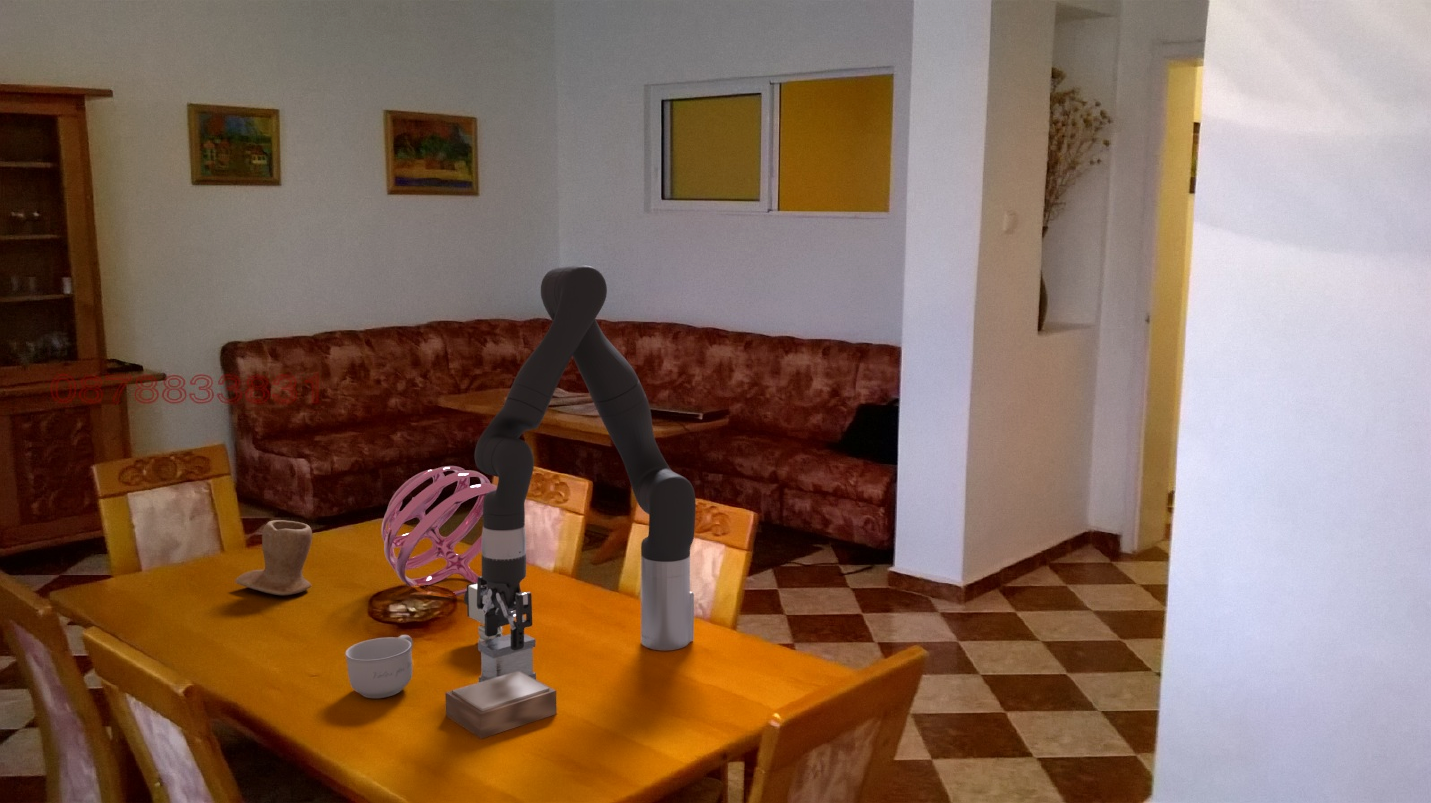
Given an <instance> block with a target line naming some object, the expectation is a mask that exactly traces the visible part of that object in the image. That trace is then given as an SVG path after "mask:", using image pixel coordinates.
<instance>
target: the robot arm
mask: <svg viewBox="0 0 1431 803" xmlns="http://www.w3.org/2000/svg"><path fill="white" fill-rule="evenodd" d="M607 294H608V287H607V283H606V279H605V277H604V276H603V274H602V273H601V272H600V270H598V269H597V268H596V267H593V266H590V265H585V264H584V265H570V266H560V267H555V268H552V269H551V270H549V271H548V272H547V273H546V274H545V275H544V276H543V278H542V280H541V283H540V296H541V301H542V304H543V306H544V308H545V310H546V312H547V314H548V316H549V318H550V319H551V321H552V322H551V325H550V326H549V328H548V331H547V332H546V333H545V335H544V337H543V338H542V340H541V341H540V343H539V344H538V345H537V346H536V348H535V349H534V350H533V351H532V353H531V354H530V355H529V357H527V359H526V361H525V362H524V363H523V365H522V366H521V367H520V369H519V371H518V373H517V374H516V376H515V378H514V380H513V383H512V384H511V388H510V390H508V391H509V392H508V393H507V397H506V399H505V401H504V403H503V406H502V408H500V410H499V411H498V412H497V414H496V415H494V417H493V419H492V420H491V421H490V423H489V424H488V425H487V426H486V428H485V430H484V431H483V432H482V434H481V435H480V437H479V438H478V440H477V443H476V446H475V449H474V461H475V465H476V467H477V469H478V470H479V471H480V472H482V473H483V474H486V475H490V476H494V477H497V479H498V480H497V484H496V486H497V489H496V490H493V491H490V492H488V493H487V494H486V495H485V497H484V500H483V514H482V533H481V535H482V550H481V576H479V575H478V576H479V577H478V579H477V608H478V609H482V613H483V615H485V635H486V636H488V637H490V636H494V635H497V633H498V614H496V612H497V611H498V609H500V610H501V611H503V614H504V617H505V618H507V619H508V620H509V623H510V624H509V626H510V634H511V649H512V650H514V651H515V650H519V649H522V648H523V647H524V634H525V629H526V628H529V627H532V626H533V601H532V597H533V596H532V593H531V591H526V592H522V589H521V582H522V580H524V579H525V578H526V576H527V533H526V529H525V528H526V526H525V525H526V522H525V520H526V518H525V516H526V510H525V509H526V507H525V502H526V498H527V496H528V492H529V488H530V484H531V481H532V476H533V473H534V463H535V460H534V459H535V458H534V454H533V450H532V448H531V447H530V445H529V443H527V442H526V441H525V440H523V439H520V437H521V436H522V435H523V434H524V433H525V432H527V431H531V430H532V431H533V430H536V429H537V428H539V427H540V425H541V423H542V421H543V419H544V417H545V415H546V412H547V411H548V408H549V406H550V403H551V400H552V398H553V396H554V393H555V391H556V388H557V387H558V384H559V383H560V380H561V378H562V376H563V374H564V372H565V370H566V368H567V366H568V365H569V363H570V360H571V359H572V358H573V360H574V362H575V365H576V367H577V369H578V371H579V373H580V375H581V378H582V380H583V382H584V383H585V385H586V389H587V390H588V392H589V395H590V397H591V400H592V402H593V406H595V409H596V411H597V413H598V415H599V417H600V419H601V421H602V423H603V425H604V427H605V428H606V431H607V432H608V435H609V436H610V437H609V438H610V440H612V442H613V444H614V446H615V448H616V449H617V452H618V454H619V455H620V458H621V460H622V463H623V465H624V468H625V471H626V473H627V476H628V479H629V482H630V486H631V489H632V492H633V494H634V497H635V500H636V502H637V504H638V506H639V507H640V508H641V509H642V510H643V512H645V513H646V514H647V515H648V516H649V517H648V535H647V536H646V537H644V538H643V539H642V541H641V543H640V571H641V573H640V590H641V591H640V610H641V611H640V643H641V645H642V646H644V648H648V649H651V650H654V651H655V650H657V651H675V650H679V649H682V648H683V649H684V647H687V646H688V645H689V644H690V642H693V641H694V634H695V633H694V632H695V630H694V628H695V626H694V624H695V622H694V621H695V620H694V619H695V616H694V614H695V611H694V610H695V609H694V608H695V603H694V602H695V594H694V592H693V591H691V547H692V545H693V542H694V538H695V531H696V530H695V528H696V527H695V526H696V525H695V524H696V502H697V501H696V493H695V489H694V487H693V485H692V483H691V482H690V480H688V479H687V478H686V477H684V476H682V475H681V474H679V473H676V472H674V471H673V470H672V469H671V468H670V466H669V465H668V462H666V459H665V458H664V455H663V454H662V452H661V450H660V448H659V446H658V443H657V442H656V439H655V435H654V429H653V428H654V426H653V421H652V420H653V418H652V412H651V406H650V404H649V400H648V398H647V395H646V392H645V391H644V390H645V389H644V388H643V385H642V383H641V382H640V379H639V377H638V375H637V373H636V371H635V369H634V368H633V367H632V365H631V364H630V362H628V360H627V359H626V358H625V356H623V355H622V354H621V352H620V351H619V350H618V349H617V348H616V347H615V346H614V345H613V344H612V343H611V342H610V339H608V338H607V336H606V335H605V334H604V332H603V331H602V329H601V328H600V325H599V323H598V321H597V319H596V318H597V317H598V315H599V314H600V311H601V310H602V309H603V307H604V304H605V302H606V300H607V299H606V298H607ZM485 595H487V596H486V598H485V600H484V601H483V596H485ZM515 607H516V610H513V609H514V608H515ZM510 610H513V611H510ZM524 615H525V616H524ZM514 616H516V617H514Z"/></svg>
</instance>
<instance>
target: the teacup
mask: <svg viewBox="0 0 1431 803" xmlns="http://www.w3.org/2000/svg"><path fill="white" fill-rule="evenodd" d="M413 645H414V643H413V639H412V637H411V636H410V635H408V634H401V635H400V636H398V637H393V636H391V637H389V636H388V637H378V638H373V639H367V640H363V641H360V642H358V643H355V644H353V645H352V646H349V647H348V648H347V649H346V650H345V653H344V655H345V658H346V664H347V665H346V666H347V675H348V679H349V680H348V681H349V683H350V684H349V685H350V686H351V688H352V689H353V690H354V691H355V693H356V692H357V693H358V694H360V695H362V696H363V697H365V698H368V699H382V698H383V699H384V698H388V697H391V696H395V695H396V694H399V693H400V692H401V691H402V690H403V689H404V688H405V687H406V686H407V685H408V684H409V683H410V681H411V680H412V676H413V657H412V651H413V648H414V647H413Z"/></svg>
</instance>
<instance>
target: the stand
mask: <svg viewBox="0 0 1431 803" xmlns="http://www.w3.org/2000/svg"><path fill="white" fill-rule="evenodd" d="M444 693H445V696H444V698H445V717H447V718H449V719H450V720H452V721H453V722H455V723H456V724H458V725H459V726H461V727H462V728H463V729H465V730H467V731H469V732H470V733H471V734H473V735H474V736H476V737H478V738H479V739H484V738H488V737H491V736H493V735H497V734H499V733H502V732H505V731H509V730H512V729H514V728H515V729H516V728H518V727H521V726H524V725H528V724H530V723H534V722H537V721H539V720H542V719H546V718H548V717H552V716H554V715H558V714H557V690H555V689H554V688H552V687H550V686H548V685H546V684H545V683H543V682H541V681H539V680H538V679H537V678H536V679H534V678H532V677H530V676H528V675H526V674H524V673H523V672H521V671H517V672H513V673H510V674H506V675H503V676H500V677H496V678H493V679H489V680H486V681H482V682H479V681H478V682H476V683H473V684H472V683H471V684H469V685H465V686H462V687H458V688H455V689H453V690H449V691H446V692H444Z"/></svg>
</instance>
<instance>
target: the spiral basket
mask: <svg viewBox="0 0 1431 803" xmlns="http://www.w3.org/2000/svg"><path fill="white" fill-rule="evenodd" d="M447 471H453V473H449V474H447V475H446V476H445V474H444V472H447ZM474 477H475V478H478V479H479V480H480V483H478V484H473V485H470V478H474ZM431 478H432V480H433V482H432V483H430V484H429V485H428V486H426V488H424V489H423V490H421V492H419V493H418V494H417V495H415V496H414V497H413V496H412V498H411V500H410V501H409V502H408V503H407V504H406V505H405V507H403V509H402V510H401V511H400V509H401V507H402V505H403V500H404V499H405V498H406V497H407V496H408V495H409V494H410V493H411V492H412V491H413V490H415V489H417V487H419V486H420V485H422V484H423V483H424V482H425V481H427V480H429V479H431ZM455 482H457V484H456V485H457V486H456V488H455V490H454V492H453V494H451V495H450V496H449V497H447V498H446V499H444V500H442V501H441V502H440V503H439V504H437V505H436V506H435V507H434V508H433V509H431V510H430V511H429V512H428V513H427V514H426V510H427V509H428V508H429V507H431V505H433V503H434V502H435V501H436V500H437V498H439V496H440V494H441V493H442V491H443V489H444V488H446V487H447V486H449V485H451V484H453V483H455ZM496 489H497V484H496V485H495V484H493V483H491V482H490V479H488V477H487V476H485V475H484V473H483V474H482V473H480V472H479V471H476V470H471V469H469V470H465V468H462V467H460V466H456V465H447V466H441V467H438V468H437V467H436V468H434V469H427V470H424V471H421V472H419V473H417V474H415V475H413V476H412V477H411V478H409V479H407V480H406V481H405V482H404V483H403V484H402V485H401V486H400V487H399V488H398V489H397V490H396V491H395V493H394V494H393V495H392V497H391V499H390V501H389V503H388V506H387V509H386V511H385V514H384V517H383V520H382V523H381V537H382V539H383V542H384V543H383V544H384V545H383V546H384V548H383V551H384V555H385V558H386V560H387V562H388V563H389V565H390V566H391V567H392V569H393V571H394V572H395V573H396V575H397V576H398V578H399V579H400V580H401V581H402V582H403V583H404V584H405V585H407V586H408V587H410V586H415V585H428V586H432V585H434V584H437V583H438V582H439V583H440V582H441V581H443V580H445V579H447V578H449V577H451V576H452V575H455V574H457V575H460V576H461V577H463V578H464V579H465V580H467V581H469V582H470V583H471V584H473V583H477V579H478V577H479V575H478V574H477V573H475V572H474V570H472V569H471V568H470V565H469V564H470V562H472V561H473V559H474V558H475V557H477V555H478V554H480V553H481V552H482V534H481V535H480V537H479V538H477V540H476V541H475V542H474V543H473V544H472V545H471V546H470V547H469V548H468V549H467V550H466V551H464V552H463V553H462V554H461V553H460V554H457V553H456V552H455V547H456V545H458V543H459V542H460V541H461V540H463V538H465V537H466V536H467V535H468V533H469V532H470V531H471V530H472V529H473V528H474V527H475V525H476V524H477V523H478V522H479V520H480V518H481V517H483V500H484V497H485V495H486V494H487V493H488V492H490V491H493V490H496ZM477 496H478V498H477V500H476V502H475V504H474V506H473V507H472V509H471V510H470V512H469V514H468V515H467V516H466V517H465V518H464V520H463V521H462V522H461V523H460V524H459V525H458V527H457V528H456V529H454V530H453V531H452V532H451V533H449V535H447V536H442V535H441V533H440V532H439V529H440V528H441V527H442V525H444V524H445V523H446V522H447V521H448V520H449V519H450V518H451V517H452V516H453V515H454V514H455V512H456V511H457V509H459V507H460V506H461V504H463V503H464V502H466V501H469V499H473V498H475V497H477ZM414 518H417V519H418V520H419V522H418V524H416V526H415V527H414V528H413V529H412V531H410V532H408V533H405V534H401V535H398V533H399V532H400V530H401V528H402V526H404V524H405V522H407V521H410V520H412V519H414ZM387 525H388V526H387ZM423 539H429V541H430V542H432V546H431V548H429V549H428V550H426V551H424V552H422V553H420V554H417V555H415V556H412V557H411V555H412V553H413V551H414V549H415V548H416V547H417V545H418V544H419V542H420V541H421V540H423ZM394 548H400V549H399V552H398V555H397V557H396V554H395V551H394V550H395V549H394ZM440 558H442V559H444V560H445V562H446V565H445V566H444V567H443V568H441V569H439V570H437V571H434V572H433V573H430V574H429V575H426V576H423V577H418V578H409V577H408V576H407V575H406V570H407V571H408V570H413V569H417V568H419V567H422V566H425V565H428V564H429V563H432V562H433V561H434V560H437V559H440ZM466 591H467V587H466V588H463V589H461V590H456V591H452V592H453V593H455V594H456V596H455V597H457V596H462V595H465V593H466Z"/></svg>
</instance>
